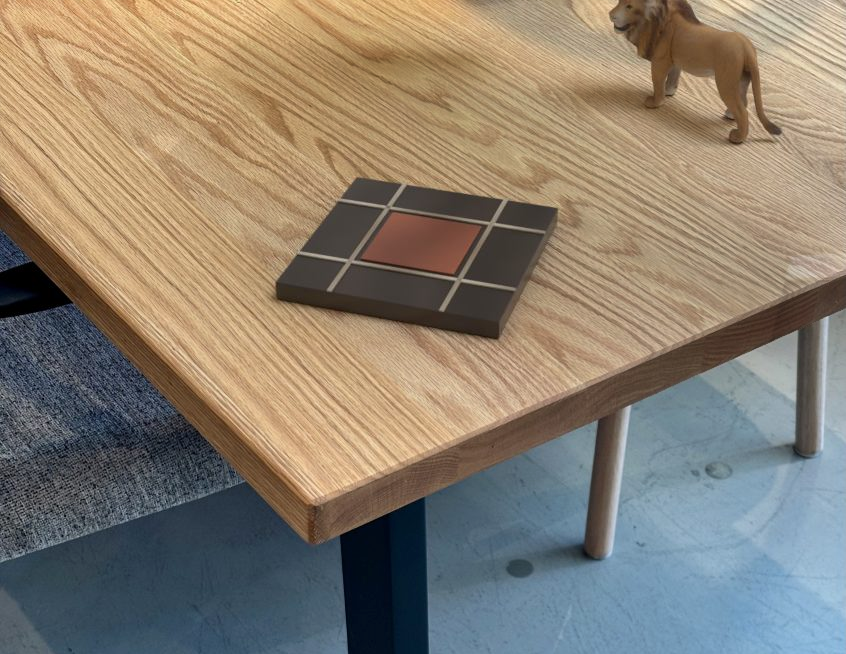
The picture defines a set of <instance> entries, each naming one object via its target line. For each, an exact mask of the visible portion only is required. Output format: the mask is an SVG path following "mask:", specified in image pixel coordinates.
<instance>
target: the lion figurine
mask: <svg viewBox="0 0 846 654" xmlns="http://www.w3.org/2000/svg"><path fill="white" fill-rule="evenodd" d="M608 17H609V21H610V22H611V23H613V32H614V34H616V35H621V34H622V35H623V37H624V38H625V40H626V41H628V42H629V43H630V44H632V45H633V46H634V47H636V55H637V56H638V57H640V58H641V59H643V60H645V61H647V62H650V71H651V72H650V74H651V75H650V76H651V83H652V88H653V95H647V96H646V97H644V100H643V103H644V105H645V107H646V108H651V109H652V108H658V107H660V106H661V105H663V104H664V102H665V99H666V96H672V95H674V94H676V92H677V91H678V89H679V83H680V77H681V73H682V71H683V72H685V73H686V74H688V75H691V76H693V77H696V78H712V77H714V82H715V86H716V89H717V93H718V96H719V98H720V99H721V101H722V103H723V104H724V106H725V107H726V109H725V111H724V114H725V116H726V117H727V118H729V119H731V120H732V119H733V120H734V122H735V123H736V126H737V127H736V128H732V129H731V130H730V131H729V134H728V139H729V141H730V142H732V143H736V144H737V143H741V142H743V141H745V140H746V139H747V137H748V135H749V133H750V125H749V123H750V122H749V112H748V111H749V110H748V109H747V108H748V106H749V101H748V96H747V95H748V90H749V87H750V85H751V89H752V95H753V96H752V97H753V103H754V107H755V111H756V115H757V117H758V119H759V121H760V123H761V125H762V127H763V128H764V130H765V131H766V132H767V133H768V134H769V135H774V136H780V135H782V134H783V130H782V129H781V128H780V127H779V126H778V125H776V124H775V123H773V122H772V121H770V119H768V117H767V116H766V113H765V111H764V107H763V100H762V99H763V98H762V89H761V88H762V87H761V75H760V68H759V63H758V59H757V58H758V52H757V49H756V46H755V45H754V43H753V42H752V40H751V39H749V37H747V36H746V35H745V34H744V33H741V32H738V31H737V32H736V31H729V30H728V31H727V30H723V29H722V30H721V29H718V28H715V27H712V26H710V25H707V24H704V23H703V22H701V20H699V18H698V17H697V16H696V14H695V12H694V10H693V7H692V5H691V4H690V3H689V2H688V0H618V2H617V4H616V5H615V6H614V7H613V8H612V9H611V10H610V11H609V12H608Z"/></svg>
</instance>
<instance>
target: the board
mask: <svg viewBox="0 0 846 654" xmlns="http://www.w3.org/2000/svg"><path fill="white" fill-rule="evenodd" d="M558 217H559V208H558V207H554V206H548V205H542V204H535V203H529V202H521V201H517V200H516V201H515V200H510V198H509V197H504V198H503V199H502V198H498V197H497V198H495V197H491V196H490V197H489V196H484V195H483V196H482V195H478V194H477V195H476V194H470V193H464V192H457V191H450V190H444V189H438V188H430V187H425V186H418V185H410V184H408V182H403V183H399V182H392V181H387V180H386V181H385V180H379V179H372V178H366V177H359V176H356V177H355V178H354V180H353V181H352V182H351V183H350V185H349V186H348V187H347V189H346V190H345V191H344V193H343V194H342V196H340V198H337V200H336V203H335V204H334V206H333V207H332V209H331V210H329V212H328V214H327V215H326V216H325V217H324V218H323V220H322V221H321V223H320V224H319V225H318V226H317V228H316V229H315V231H314V232H312V234H311V235H310V237H309V238H308V239H307V241H306V242H305V243H304V244H303V246H302V247H301V248H300V250H297V251H296V252H295V257H294V258H293V259H292V260H291V262H290V263H289V264H288V265H287V267H286V268H285V269H284V270H283V272H282V273H281V274H280V276H279V277H277V280H276V281H275V282H274V283H275V292H276V293H275V294H276V295H275V296H276V299H277V300H281V301H287V302H292V303H297V304H302V305H307V306H308V305H309V306H315V307H320V308H325V309H326V308H327V309H332V310H336V311H342V312H348V313H353V314H359V315H364V316H370V317H375V318H381V319H385V320H392V321H398V322H404V323H407V324H408V323H409V324H414V325H420V326H424V327H425V326H426V327H431V328H437V329H442V330H446V331H447V330H448V331H453V332H458V333H465V334H470V335H476V336H481V337H485V338H486V337H487V338H492V339H499V338H500V337H501V335H502V332H503V331H504V329H505V327H506V325H507V323H508V321H509V319H510V317H511V315H512V313H513V311H514V309H515V307H516V306H517V303H518V302H519V299H520V297H521V295H522V293H523V291H524V290H525V288H526V285H527V284H528V281H529V280H530V278H531V277H532V276H531V275H532V274H533V272H534V270H535V268H536V266H537V264H538V262H539V260H540V259H541V256H542V254H543V252H544V250H545V249H546V246H547V244H548V242H549V241H550V238H551V237H552V235H553V232H554V230H555V229H556V226H557V225H558V219H559V218H558Z"/></svg>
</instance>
